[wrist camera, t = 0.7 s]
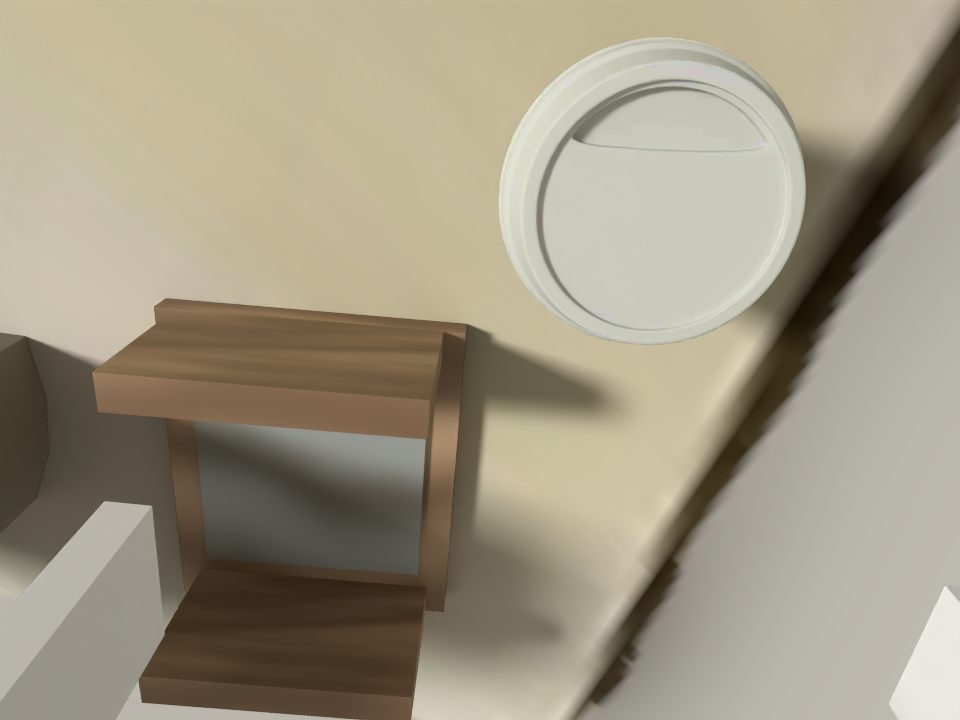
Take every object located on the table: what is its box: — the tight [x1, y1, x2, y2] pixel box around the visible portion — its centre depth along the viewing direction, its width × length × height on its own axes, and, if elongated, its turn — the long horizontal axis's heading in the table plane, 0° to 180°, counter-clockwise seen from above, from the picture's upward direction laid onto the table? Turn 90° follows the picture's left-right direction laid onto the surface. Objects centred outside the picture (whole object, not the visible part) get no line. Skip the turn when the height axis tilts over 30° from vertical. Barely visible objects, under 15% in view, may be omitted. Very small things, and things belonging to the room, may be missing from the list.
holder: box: [92, 298, 467, 720], centre depth 31 cm, size 16×14×8 cm
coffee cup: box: [499, 37, 806, 345], centre depth 24 cm, size 8×8×12 cm
